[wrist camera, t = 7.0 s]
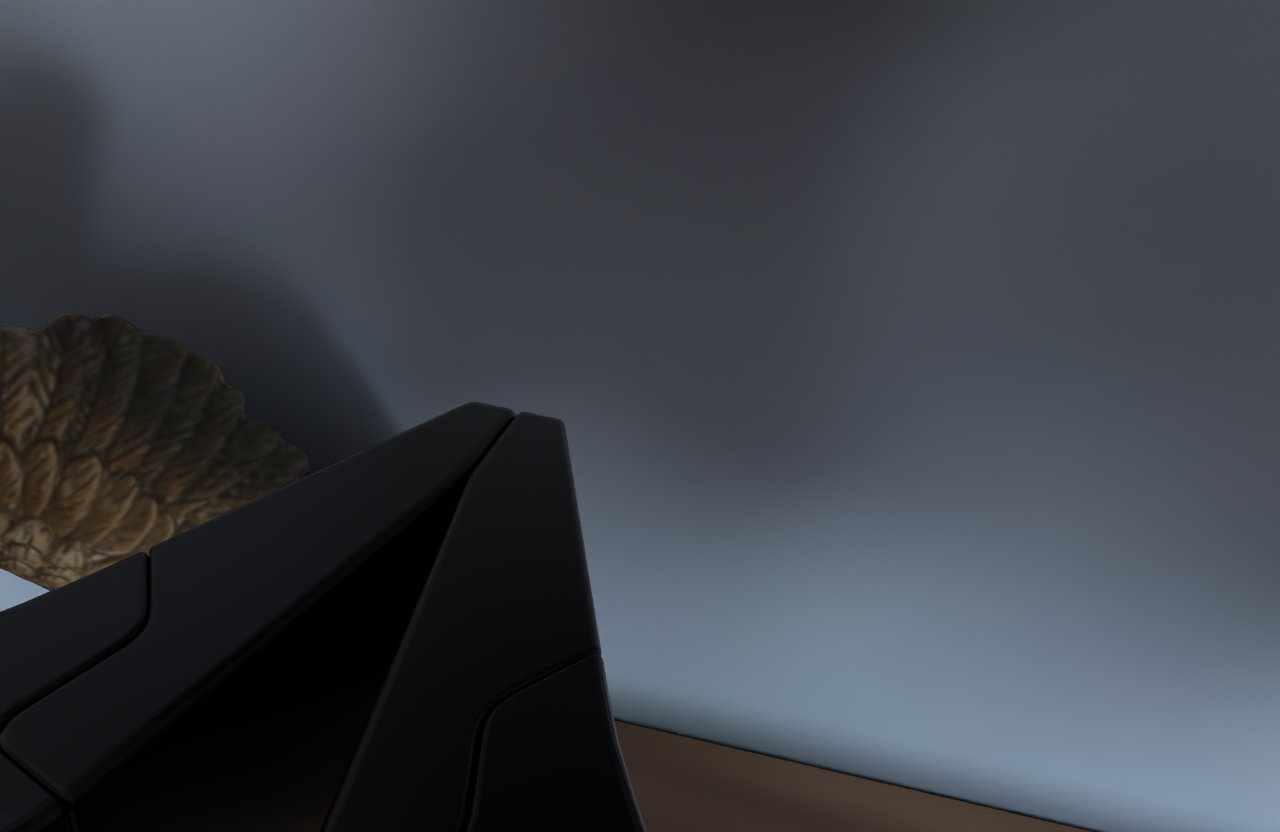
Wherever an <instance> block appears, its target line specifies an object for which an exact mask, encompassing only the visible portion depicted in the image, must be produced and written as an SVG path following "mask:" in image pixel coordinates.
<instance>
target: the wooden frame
mask: <svg viewBox="0 0 1280 832" xmlns="http://www.w3.org/2000/svg"><path fill="white" fill-rule="evenodd" d="M615 726H616V731H617V736H618V740H619V745H620V748H621V752H622V755H623V758H624V762H625V765H626V768H627V772H628V775H629V778H630V782H631V785H632V788H633V792H634V795H635V798H636V802H637V805H638V808H639V811H640V814H641V817H642V819H643V822H644V825H645V828H646V831H647V832H1091V831H1087V830H1082V829H1078V828H1074V827H1069V826H1065V825H1061V824H1057V823H1052V822H1048V821H1044V820H1039V819H1035V818H1031V817H1026V816H1022V815H1018V814H1014V813H1009V812H1005V811H1001V810H996V809H992V808H988V807H984V806H979V805H975V804H971V803H966V802H962V801H958V800H953V799H949V798H945V797H941V796H936V795H932V794H928V793H923V792H919V791H915V790H911V789H906V788H902V787H898V786H893V785H889V784H885V783H880V782H876V781H872V780H868V779H863V778H859V777H855V776H850V775H846V774H842V773H838V772H833V771H829V770H825V769H820V768H816V767H812V766H808V765H803V764H799V763H795V762H790V761H786V760H782V759H777V758H773V757H769V756H765V755H760V754H756V753H752V752H747V751H743V750H739V749H735V748H730V747H726V746H722V745H717V744H713V743H709V742H704V741H700V740H696V739H692V738H687V737H683V736H679V735H674V734H670V733H666V732H662V731H657V730H653V729H649V728H644V727H640V726H636V725H631V724H627V723H623V722H619V721H615Z"/></svg>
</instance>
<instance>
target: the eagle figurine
mask: <svg viewBox="0 0 1280 832" xmlns="http://www.w3.org/2000/svg"><path fill="white" fill-rule="evenodd" d="M244 407H245V398H244V395H243V394H242V392H241V391H240V390H239V389H237V388H235V387H232V386H230V385H229V384H227V383H226V382H225V381H224V379H223V375H222V372H221V369H220V366H219V365H218V364H216V363H215V362H214V361H212V360H210V359H208V358H204V357H199V356H197V355H195V354H193V353H191V352H190V351H189V350H188V349H187V348H186V347H184V346H183V345H181V344H180V343H177V342H175V341H172V340H169V339H166V338H160V337H153V336H148V335H144V334H143V333H142V332H141V331H140V330H139V329H137V328H136V327H135V326H134V325H133V324H131V323H130V322H128V321H126V320H125V319H123V318H122V317H118V316H115V315H111V314H105V315H103V316H101V317H99V318H96V319H91V318H89V317H86V316H84V315H82V314H77V313H73V312H68V313H61V314H60V315H58V316H57V317H56V318H54V319H53V320H52V321H51V322H50V323H48V324H47V325H46V326H45V327H43V328H40V329H38V330H35V331H32V330H28V329H25V328H21V327H0V568H1V569H4V570H6V571H9V572H11V573H13V574H15V575H16V576H18V577H20V578H23V579H25V580H28V581H30V582H33V583H35V584H37V585H39V586H41V587H43V588H45V589H47V590H49V591H52V590H55V589H57V588H59V587H62V586H64V585H66V584H68V583H71V582H73V581H75V580H78V579H80V578H82V577H85V576H87V575H89V574H92V573H94V572H96V571H99V570H101V569H103V568H105V567H107V566H110V565H112V564H114V563H116V562H118V561H121V560H123V559H125V558H127V557H129V556H132V555H134V554H136V553H138V552H145V553H147V554H148V557H149V549H150V548H151V547H152V546H154V545H156V544H158V543H161V542H163V541H165V540H167V539H169V538H172V537H174V536H176V535H178V534H181V533H183V532H185V531H187V530H189V529H192V528H194V527H196V526H198V525H200V524H203V523H205V522H207V521H209V520H211V519H214V518H216V517H218V516H220V515H222V514H225V513H227V512H229V511H231V510H233V509H236V508H238V507H240V506H242V505H244V504H247V503H249V502H251V501H253V500H255V499H258V498H260V497H262V496H264V495H266V494H268V493H271V492H273V491H275V490H277V489H279V488H282V487H284V486H286V485H288V484H290V483H293V482H295V481H297V480H299V479H301V478H304V477H306V476H308V475H310V474H312V473H315V472H317V471H319V470H313V471H312V470H311V469H310V465H309V459H308V457H307V456H306V455H305V454H304V453H303V452H302V451H301V450H300V449H299V448H298V447H295V446H293V445H289V444H286V443H285V442H284V441H283V439H282V437H281V435H280V433H279V431H278V430H277V429H276V428H272V425H270V424H267V423H264V422H261V421H257V420H252V419H248V418H247V417H246V416H245V414H244Z"/></svg>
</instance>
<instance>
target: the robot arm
mask: <svg viewBox="0 0 1280 832" xmlns="http://www.w3.org/2000/svg"><path fill="white" fill-rule="evenodd" d="M0 832H647V831H646V828H645V825H644V822H643V819H642V817H641V814H640V811H639V808H638V805H637V802H636V798H635V795H634V792H633V788H632V785H631V782H630V778H629V775H628V772H627V768H626V765H625V762H624V758H623V755H622V752H621V748H620V745H619V740H618V736H617V731H616V726H615V721H614V717H613V712H612V707H611V702H610V698H609V693H608V687H607V681H606V675H605V669H604V662H603V659H602V658H601V647H600V641H599V635H598V628H597V622H596V616H595V610H594V604H593V597H592V591H591V585H590V579H589V573H588V566H587V560H586V554H585V548H584V541H583V535H582V529H581V523H580V517H579V510H578V504H577V498H576V492H575V486H574V479H573V473H572V467H571V461H570V455H569V448H568V442H567V436H566V430H565V425H564V423H563V422H562V421H561V420H560V419H557V418H553V417H548V416H543V415H538V414H533V413H528V412H521V413H519V414H517V415H516V414H515V412H514V411H513V410H511V409H508V408H504V407H499V406H494V405H490V404H485V403H480V402H470V403H467V404H464V405H462V406H460V407H457V408H455V409H453V410H451V411H449V412H446V413H444V414H442V415H440V416H438V417H435V418H433V419H431V420H429V421H427V422H425V423H422V424H420V425H418V426H416V427H414V428H411V429H409V430H407V431H405V432H403V433H400V434H398V435H396V436H394V437H392V438H389V439H387V440H385V441H383V442H381V443H378V444H376V445H374V446H372V447H370V448H367V449H365V450H363V451H361V452H359V453H356V454H354V455H352V456H350V457H348V458H345V459H343V460H341V461H339V462H337V463H334V464H332V465H330V466H328V467H326V468H323V469H321V470H319V471H317V472H315V473H312V474H310V475H308V476H306V477H304V478H301V479H299V480H297V481H295V482H293V483H290V484H288V485H286V486H284V487H282V488H279V489H277V490H275V491H273V492H271V493H268V494H266V495H264V496H262V497H260V498H258V499H255V500H253V501H251V502H249V503H247V504H244V505H242V506H240V507H238V508H236V509H233V510H231V511H229V512H227V513H225V514H222V515H220V516H218V517H216V518H214V519H211V520H209V521H207V522H205V523H203V524H200V525H198V526H196V527H194V528H192V529H189V530H187V531H185V532H183V533H181V534H178V535H176V536H174V537H172V538H169V539H167V540H165V541H163V542H161V543H158V544H156V545H154V546H152V547H151V548H150V549H149V557H148V554H147V553H145V552H138V553H136V554H134V555H132V556H129V557H127V558H125V559H123V560H121V561H118V562H116V563H114V564H112V565H110V566H107V567H105V568H103V569H101V570H99V571H96V572H94V573H92V574H89V575H87V576H85V577H82V578H80V579H78V580H75V581H73V582H71V583H68V584H66V585H64V586H62V587H59V588H57V589H55V590H52V591H50V592H48V593H45V594H43V595H41V596H38V597H36V598H34V599H31V600H29V601H27V602H24V603H22V604H19V605H17V606H14V607H12V608H9V609H6V610H4V611H1V612H0Z"/></svg>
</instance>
